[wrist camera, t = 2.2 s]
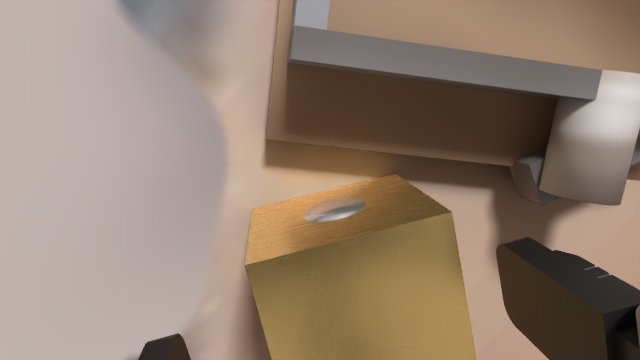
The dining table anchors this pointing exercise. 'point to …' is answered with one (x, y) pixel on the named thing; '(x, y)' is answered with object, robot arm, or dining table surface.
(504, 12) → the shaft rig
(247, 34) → the dining table surface
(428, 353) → the yellow cube
